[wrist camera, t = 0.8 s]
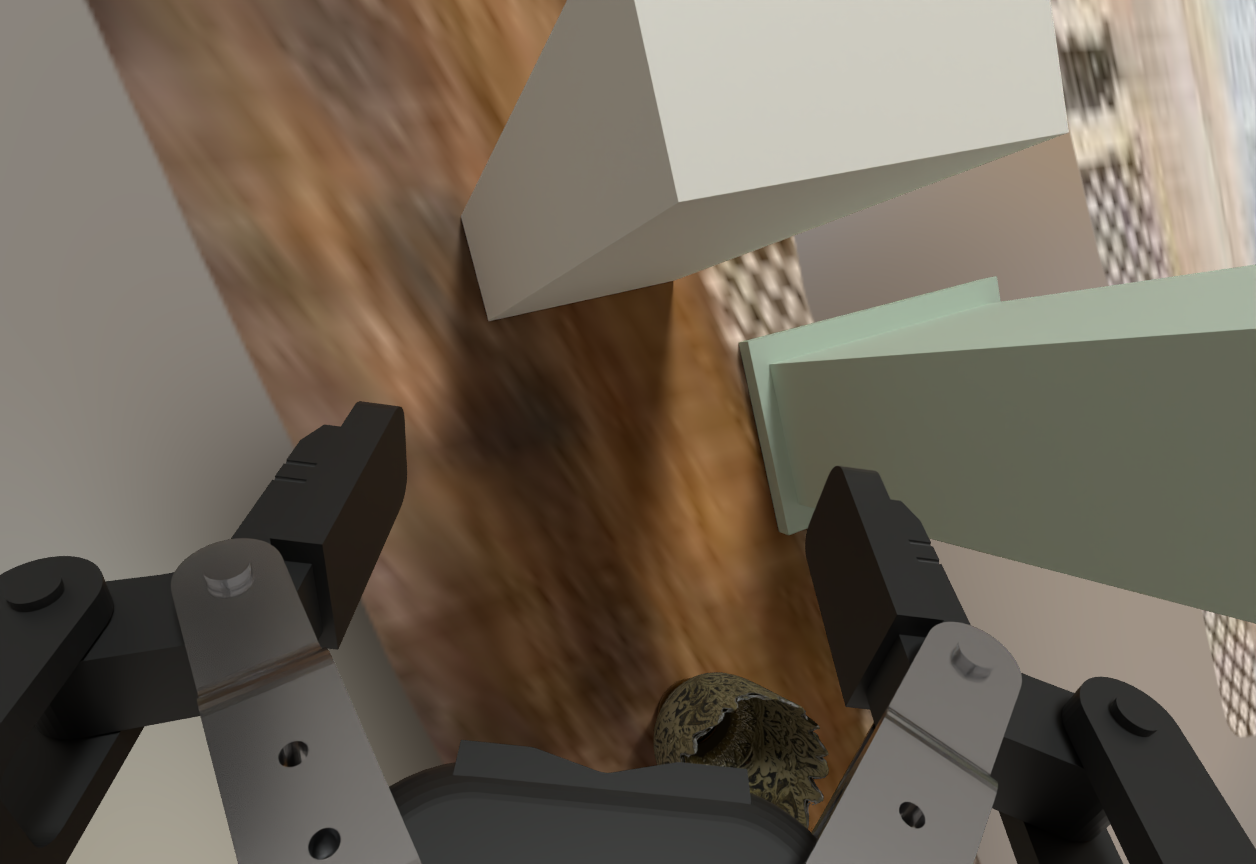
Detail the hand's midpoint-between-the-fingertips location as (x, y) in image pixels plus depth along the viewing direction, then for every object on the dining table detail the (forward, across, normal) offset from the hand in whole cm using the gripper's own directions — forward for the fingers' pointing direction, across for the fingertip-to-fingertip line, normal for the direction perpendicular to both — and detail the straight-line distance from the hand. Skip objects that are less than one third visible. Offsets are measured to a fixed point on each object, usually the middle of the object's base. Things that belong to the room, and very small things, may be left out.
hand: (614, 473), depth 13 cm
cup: (+12, -7, +25) cm, 29 cm away
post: (+23, +2, +5) cm, 24 cm away
